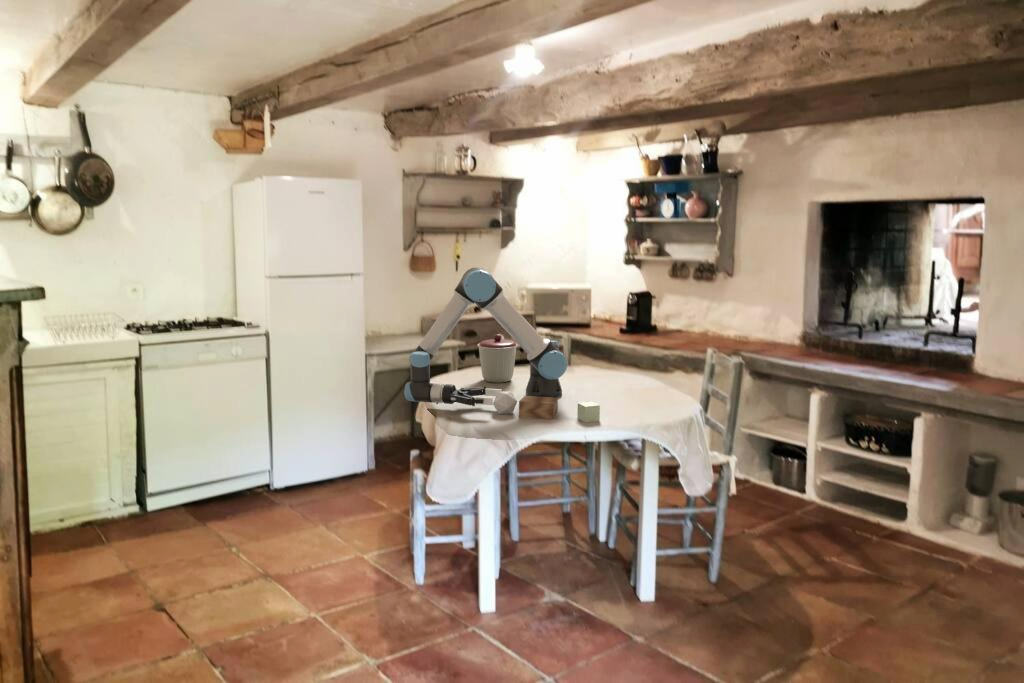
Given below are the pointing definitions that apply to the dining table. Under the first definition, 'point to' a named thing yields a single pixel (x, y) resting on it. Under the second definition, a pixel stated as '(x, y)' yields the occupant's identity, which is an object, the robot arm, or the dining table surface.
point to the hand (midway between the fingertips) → (497, 397)
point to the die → (505, 402)
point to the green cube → (588, 411)
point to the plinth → (538, 407)
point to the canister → (497, 359)
